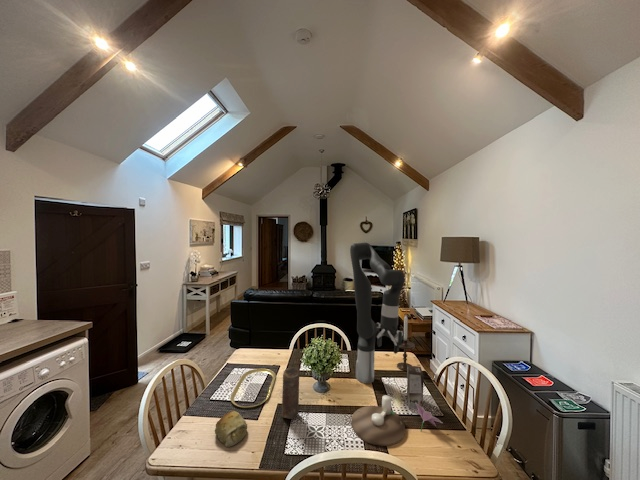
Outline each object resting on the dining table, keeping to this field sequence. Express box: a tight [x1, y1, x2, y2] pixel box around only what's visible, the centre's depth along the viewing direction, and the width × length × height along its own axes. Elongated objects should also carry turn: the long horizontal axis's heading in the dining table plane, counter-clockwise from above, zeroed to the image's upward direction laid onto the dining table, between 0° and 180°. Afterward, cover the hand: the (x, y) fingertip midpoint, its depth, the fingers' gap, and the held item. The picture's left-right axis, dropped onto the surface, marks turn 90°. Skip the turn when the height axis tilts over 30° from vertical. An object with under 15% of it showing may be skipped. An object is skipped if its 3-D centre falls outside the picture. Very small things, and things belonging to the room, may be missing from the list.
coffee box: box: [406, 365, 425, 410], centre depth 134 cm, size 9×6×16 cm
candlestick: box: [396, 309, 416, 372], centre depth 168 cm, size 11×11×35 cm
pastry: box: [214, 410, 248, 448], centre depth 112 cm, size 14×12×8 cm
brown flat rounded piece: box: [350, 405, 406, 447], centre depth 118 cm, size 22×22×2 cm
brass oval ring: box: [230, 368, 276, 409], centre depth 146 cm, size 19×35×2 cm, turn 179°
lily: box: [411, 403, 443, 432], centre depth 118 cm, size 12×12×10 cm
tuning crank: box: [372, 394, 392, 426], centre depth 121 cm, size 12×5×6 cm, turn 140°
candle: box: [281, 367, 300, 420], centre depth 124 cm, size 8×7×20 cm
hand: (387, 349), depth 126 cm, fingers open, 8 cm apart
